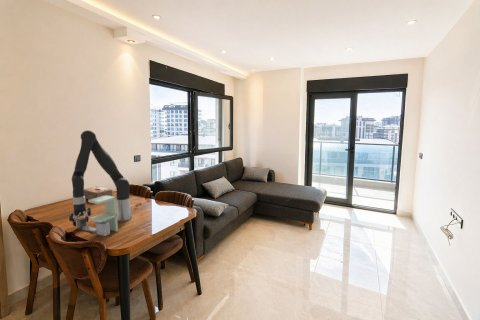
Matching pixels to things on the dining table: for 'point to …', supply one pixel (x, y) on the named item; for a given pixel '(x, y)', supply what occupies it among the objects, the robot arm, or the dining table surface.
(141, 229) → the dining table surface
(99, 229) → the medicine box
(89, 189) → the tissue box cover
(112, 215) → the shelf unit
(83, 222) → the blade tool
